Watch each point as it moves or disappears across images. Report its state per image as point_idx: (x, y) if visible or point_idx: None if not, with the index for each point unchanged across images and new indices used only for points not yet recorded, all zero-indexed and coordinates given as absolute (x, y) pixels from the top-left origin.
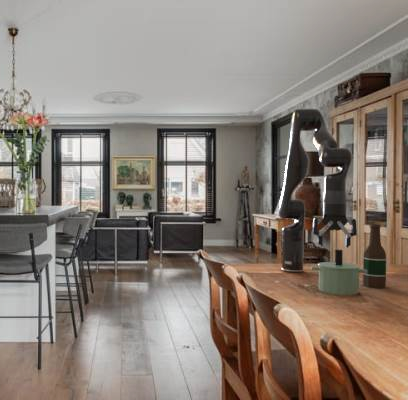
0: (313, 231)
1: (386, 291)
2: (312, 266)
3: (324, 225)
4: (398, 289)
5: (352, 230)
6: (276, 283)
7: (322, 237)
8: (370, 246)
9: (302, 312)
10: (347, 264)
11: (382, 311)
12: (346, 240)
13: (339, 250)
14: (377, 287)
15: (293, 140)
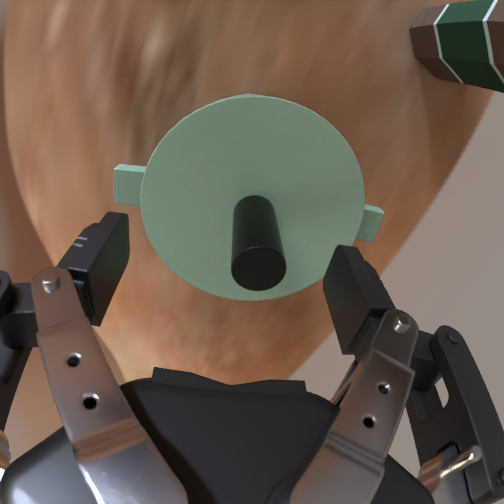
0: (3, 348)
1: (435, 128)
2: (120, 175)
3: (60, 406)
4: (481, 99)
5: (447, 376)
6: (49, 56)
7: (101, 318)
8: None
9: (120, 367)
10: (318, 186)
11: (279, 349)
12: (337, 324)
13: (254, 290)
14: (436, 77)
15: None
